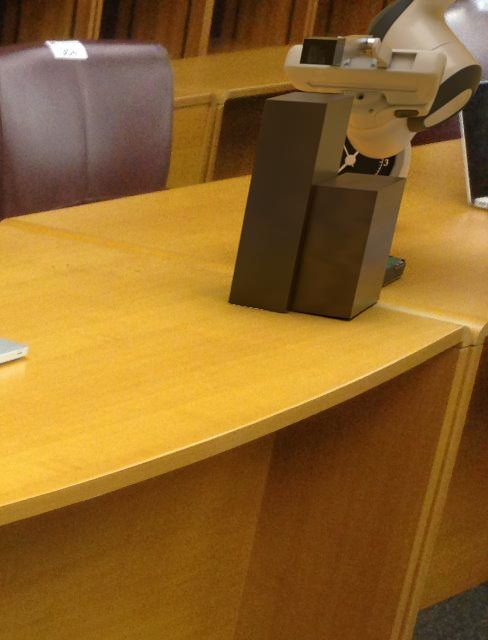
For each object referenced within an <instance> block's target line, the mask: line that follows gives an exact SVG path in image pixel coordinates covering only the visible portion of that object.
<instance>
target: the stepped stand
mask: <svg viewBox="0 0 488 640" xmlns="http://www.w3.org/2000/svg"><path fill="white" fill-rule="evenodd" d="M353 100H354V95H338V94H334V93H321V92H306V91H293V92H289V93H286V94H285V93H284V94H281V95H277V96H274V97H269V98H266V99H265V100H264V106H263V112H262V115H261V116H262V117H261V121H260V126H259V132H258V138H257V144H256V149H255V150H256V151H255V155H254V160H253V166H252V171H251V176H250V182H249V188H248V192H247V197H246V204H245V208H244V214H243V220H242V225H241V231H240V235H239V242H238V246H237V252H236V257H235V263H234V268H233V274H232V279H231V285H230V290H229V294H228V295H229V296H228V301H227V304H228V303H230V304H229V305H233V304H235V305H234V306H238V305H240V306H239V307H244V306H246V307H245V308H249V307H252V308H251V309H255V308H258V309H257V310H260V309H263V310H262V311H266V310H268V311H267V312H273V311H274V312H273V313H275V312H276V313H281V312H282V313H281V314H286V313H288V312H297V313H298V312H299V313H304V314H305V313H306V314H313V315H320V316H327V317H335V318H343V319H349V320H350V319H352V318H353V317H355V316H356V315H358V314H360V313H361V312H363V311H364V310H366V309H367V308H369V307H370V306H372V305H374V304H375V303H377V302H378V301H380V297H381V293H382V288H383V285H382V284H383V280H384V275H385V271H386V267H387V262H388V258H389V256H390V253H391V250H392V244H393V240H394V235H395V231H396V227H397V223H398V218H399V213H400V210H401V209H400V208H401V205H402V201H403V196H404V192H405V187H406V183H407V177H406V178H404V177H392V176H381V175H369V174H358V173H344V174H342V175H339V176H338V172H339V167H340V162H341V158H342V153H343V148H344V143H345V138H346V134H347V129H348V124H349V119H350V114H351V110H352V105H353Z"/></svg>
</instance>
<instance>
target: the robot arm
mask: <svg viewBox="0 0 488 640" xmlns="http://www.w3.org/2000/svg"><path fill="white" fill-rule="evenodd" d="M456 1H457V0H395V1H392V2H391V3H390V4H389V5H387V6H386V7H384V8H383V9H382V10H380V11H379V12H378V13H377V14H376V15H375V16H374V17H373V18H372V20H371V21H370V22H369V25H368V28H367V31H366V34H365V35H373V37H372V38H368V39H367V43H366V45H365V48H364V51H365V56H361V57H357V58H353V59H348V60H344V61H342V62H341V63H340V64H336V65H313V64H299V63H300V58H301V52H302V47H303V44H295V45H293V46H292V47H290V49H289V50H288V52H287V55H286V57H285V60H284V64H283V72H284V75H285V76H286V78H287V80H288V81H289V82H290V84H291V85H292V86H293V87H294V88H295V89H297V90H299V91H301V92H306V93H322V94H338V95H354V100H353V105H352V110H351V114H350V119H349V124H348V129H347V134H346V135H347V137H348V139H349V141H350V143H351V145H352V146H353V147H354V148H355V150H357V151H358V152H359V153H360V154H362V155H364V156H366V157H370V158H376V159H382V158H388V157H391V156H393V155H396V154H397V153H399V152H400V151H402V150H403V149H404V148H405V147H406V146H407V145H408V144H409V142H410V143H411V141H412V140H413V138H414V137H415V136H416V134H417V133H419V132H424V131H428V130H432V129H434V128H436V127H438V126H441V125H442V124H444V123H446V122H447V121H449V120H451V119H452V118H454V117H456V116H457V115H458V114H459V113H461V112H462V111H463V110H464V109H465V108H466V107H467V106H468V104H470V103H471V101H472V99H473V97H474V96H475V94H476V92H477V91H478V88H479V86H480V84H481V80H482V77H483V75H482V74H483V68H482V65H480V63H479V62H478V61H477V60H476V58H475V57H474V55H473V54H472V53H471V52H470V50H468V48H467V47H466V46H465V44H464V43H463V42H461V40H460V39H459V38H458V37H457V35H456V34H455V33H454V31H452V29H451V28H450V26H449V25H448V24H447V23H446V21H445V13H446V10H447V9H448V7H450V6H451V5H453V3H455V2H456ZM341 37H342V36H337V38H341Z"/></svg>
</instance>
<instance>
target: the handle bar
mask: <svg viewBox="0 0 488 640" xmlns="http://www.w3.org/2000/svg"><path fill="white" fill-rule="evenodd" d="M340 37H341V38H338V37H335V36H334V37H333V36H311V37H310V36H309V37H304V38H303V43H302V45H303V47H302V52H301V58H300V63H299V64H313V65H336V64H340V63H341V62H342V61H344V60H348V59H353V58H357V57H361V56H365V51H364V48H365V45H366V43H367V39H368V38H372V37H373V35H366V34H351V35H346V36H340Z"/></svg>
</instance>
